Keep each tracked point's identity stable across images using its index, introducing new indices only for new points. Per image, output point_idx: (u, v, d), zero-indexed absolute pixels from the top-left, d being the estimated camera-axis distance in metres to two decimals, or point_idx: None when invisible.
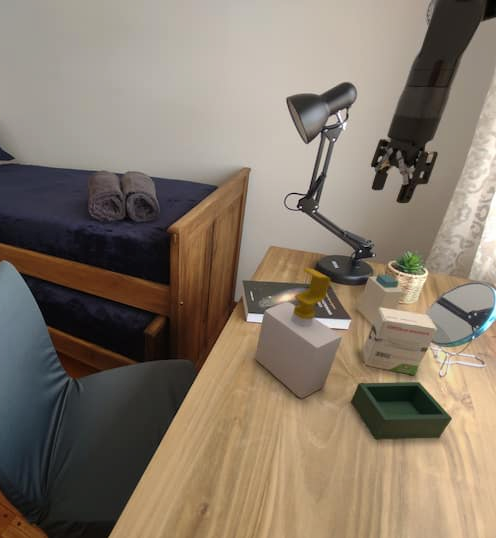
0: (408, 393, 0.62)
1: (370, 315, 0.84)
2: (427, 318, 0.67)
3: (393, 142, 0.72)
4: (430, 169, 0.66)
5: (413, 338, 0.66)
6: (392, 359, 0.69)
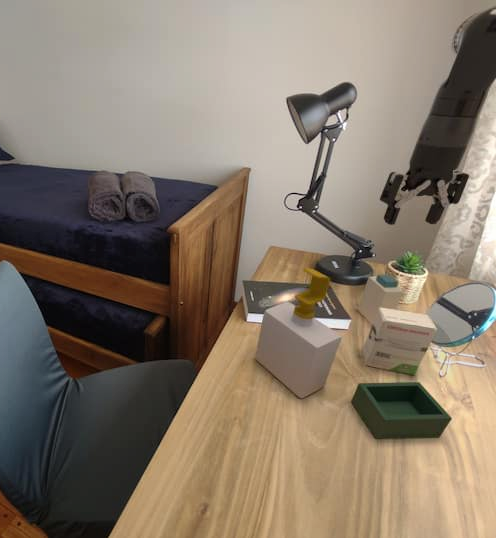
0: (408, 393, 0.62)
1: (370, 315, 0.84)
2: (427, 318, 0.66)
3: None
4: (390, 190, 0.69)
5: (413, 338, 0.66)
6: (392, 359, 0.69)
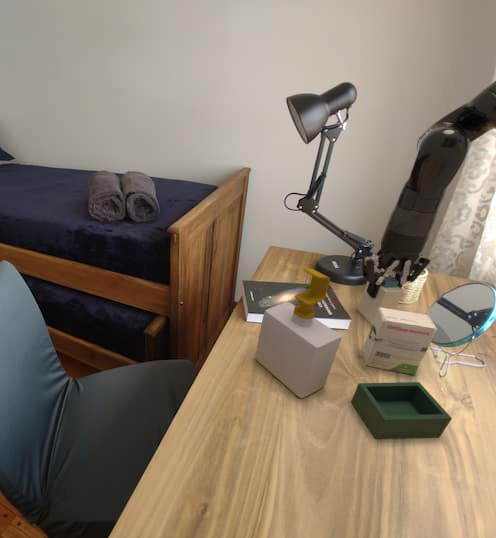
0: (408, 393, 0.62)
1: (370, 315, 0.84)
2: (427, 318, 0.66)
3: None
4: (367, 272, 0.78)
5: (413, 338, 0.66)
6: (392, 359, 0.69)
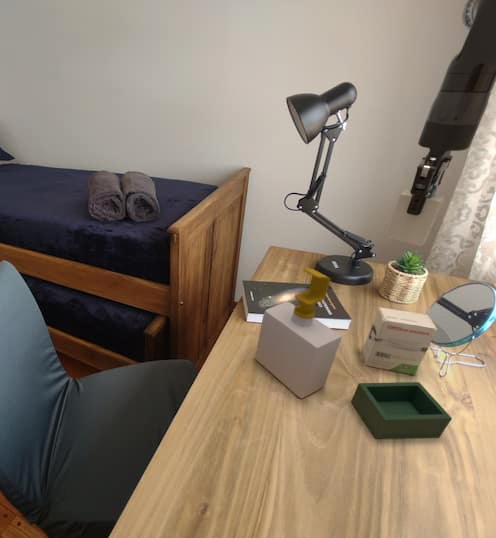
0: (408, 393, 0.62)
1: (413, 237, 0.72)
2: (427, 318, 0.66)
3: None
4: (426, 183, 0.64)
5: (413, 339, 0.66)
6: (392, 359, 0.69)
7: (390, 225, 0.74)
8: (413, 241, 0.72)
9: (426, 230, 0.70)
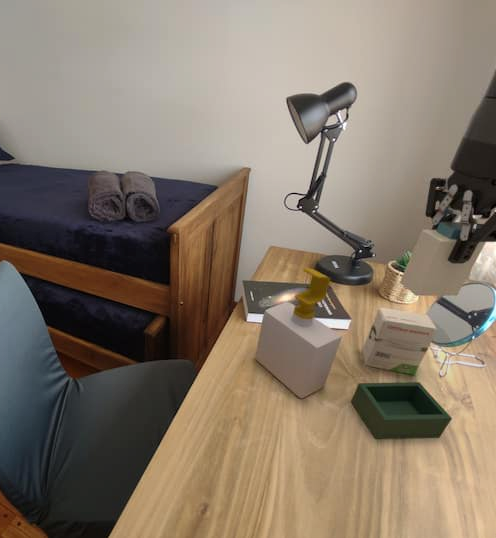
0: (408, 393, 0.62)
1: (450, 287, 0.55)
2: (427, 318, 0.66)
3: (456, 174, 0.51)
4: None
5: (413, 339, 0.66)
6: (392, 359, 0.69)
7: (424, 280, 0.54)
8: (450, 292, 0.55)
9: (466, 276, 0.54)
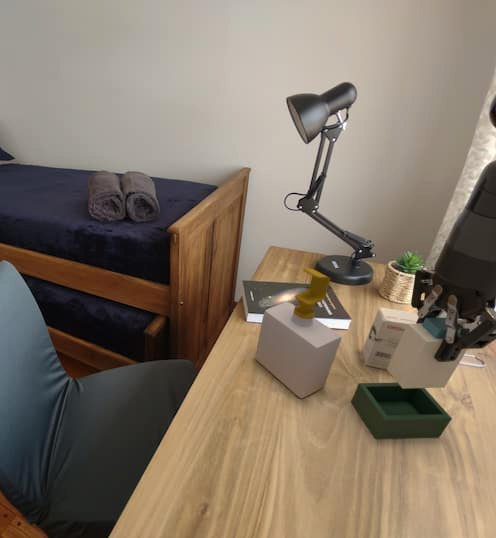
0: (408, 393, 0.62)
1: (437, 380, 0.54)
2: None
3: None
4: (492, 339, 0.45)
5: None
6: None
7: (411, 375, 0.53)
8: (437, 384, 0.54)
9: (453, 371, 0.53)
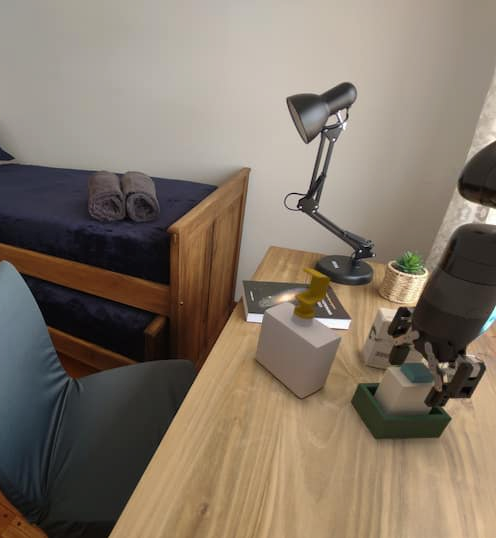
0: None
1: None
2: None
3: None
4: (474, 384, 0.47)
5: None
6: None
7: None
8: None
9: (428, 411, 0.58)
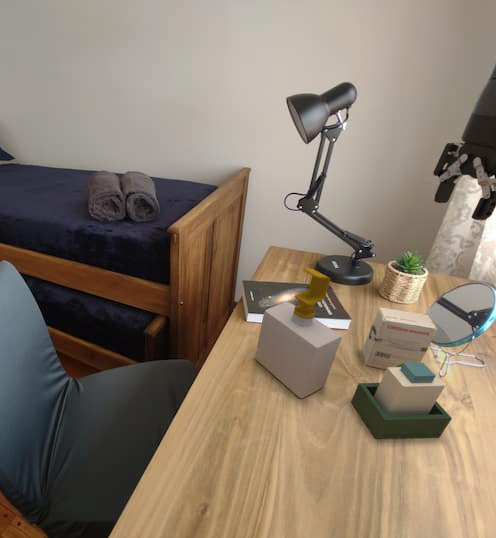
0: None
1: None
2: (427, 318, 0.66)
3: (467, 147, 0.61)
4: None
5: (413, 338, 0.66)
6: (392, 359, 0.69)
7: None
8: None
9: (428, 411, 0.58)
